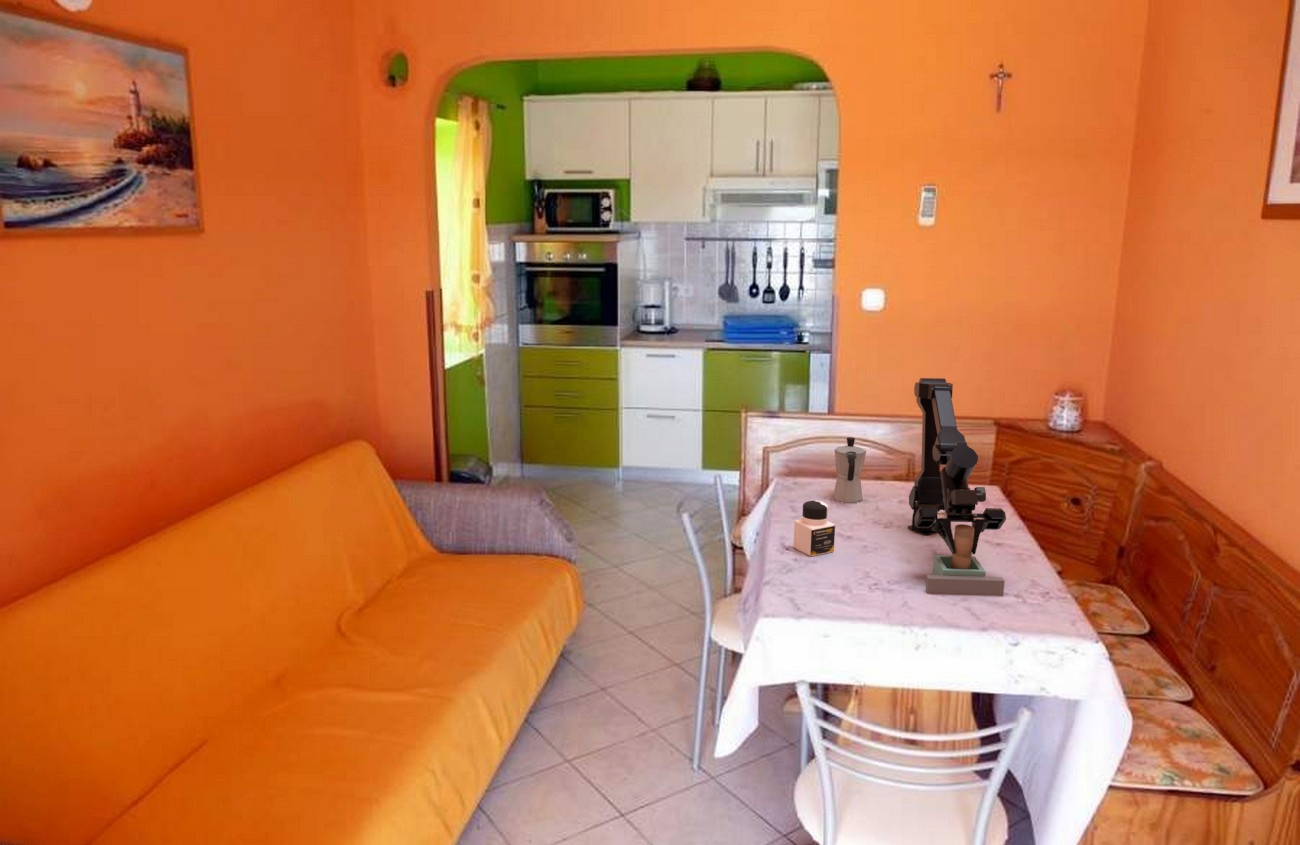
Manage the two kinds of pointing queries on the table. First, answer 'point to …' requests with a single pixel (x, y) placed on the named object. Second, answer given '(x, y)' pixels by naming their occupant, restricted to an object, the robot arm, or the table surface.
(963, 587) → the backstop wall
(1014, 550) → the table surface
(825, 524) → the medicine bottle
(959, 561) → the dowel
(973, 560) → the socket block
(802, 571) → the table surface
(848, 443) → the coffee maker
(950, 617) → the table surface
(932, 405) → the robot arm
